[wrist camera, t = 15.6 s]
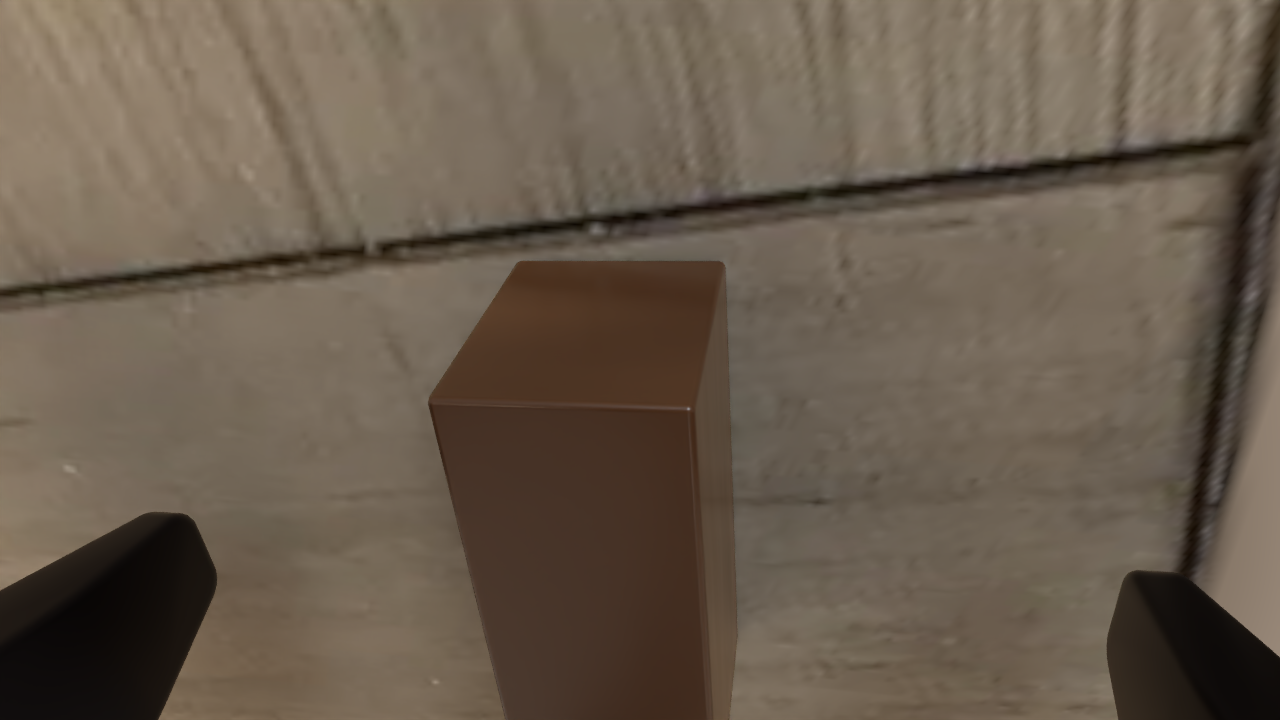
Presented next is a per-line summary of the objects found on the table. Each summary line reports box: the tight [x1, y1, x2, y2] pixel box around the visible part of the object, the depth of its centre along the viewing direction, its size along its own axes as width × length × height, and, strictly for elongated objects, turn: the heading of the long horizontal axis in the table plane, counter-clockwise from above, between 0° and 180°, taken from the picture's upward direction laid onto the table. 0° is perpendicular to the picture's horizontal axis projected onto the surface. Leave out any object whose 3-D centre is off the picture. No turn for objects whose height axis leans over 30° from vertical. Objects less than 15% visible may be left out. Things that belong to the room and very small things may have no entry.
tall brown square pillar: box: [428, 261, 738, 720], centre depth 9 cm, size 2×5×2 cm, turn 4°
